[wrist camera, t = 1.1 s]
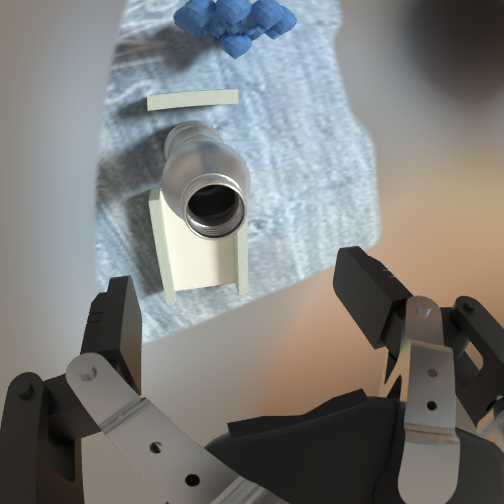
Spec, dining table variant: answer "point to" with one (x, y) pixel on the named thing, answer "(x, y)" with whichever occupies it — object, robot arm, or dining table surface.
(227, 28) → the grapes
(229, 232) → the silver metal bottle
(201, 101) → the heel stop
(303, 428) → the robot arm
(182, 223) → the cradle
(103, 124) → the dining table surface
